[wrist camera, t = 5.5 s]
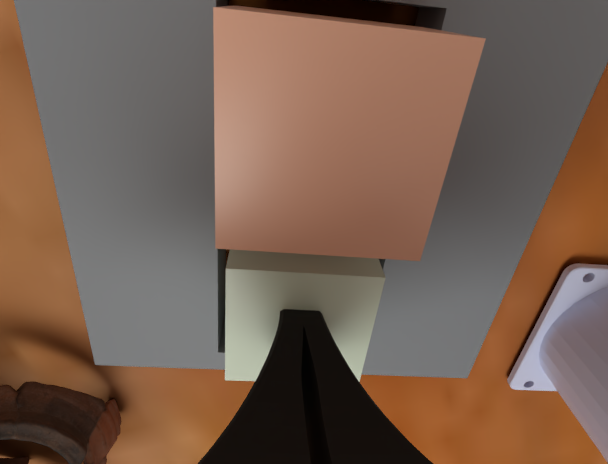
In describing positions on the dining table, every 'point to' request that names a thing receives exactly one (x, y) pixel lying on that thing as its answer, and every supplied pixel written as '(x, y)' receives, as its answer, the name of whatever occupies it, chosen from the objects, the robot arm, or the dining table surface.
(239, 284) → the sage key
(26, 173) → the dining table surface
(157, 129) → the grey rectangular frame
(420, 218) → the terracotta key
